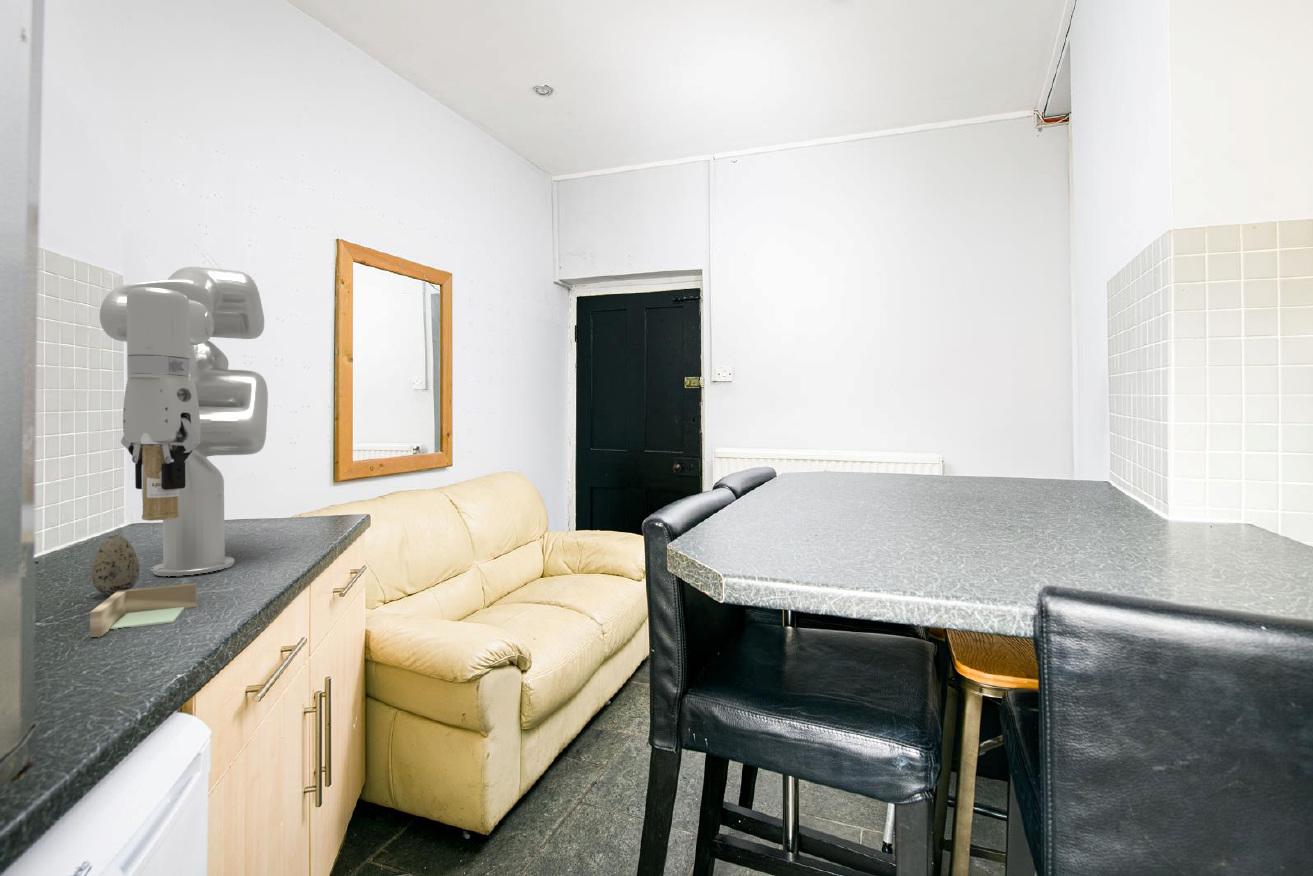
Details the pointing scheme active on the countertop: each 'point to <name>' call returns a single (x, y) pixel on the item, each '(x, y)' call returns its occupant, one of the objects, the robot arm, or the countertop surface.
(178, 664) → the countertop surface
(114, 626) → the pad
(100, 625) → the corner walls
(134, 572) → the decorative egg
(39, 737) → the countertop surface
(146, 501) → the sprinkles bottle
